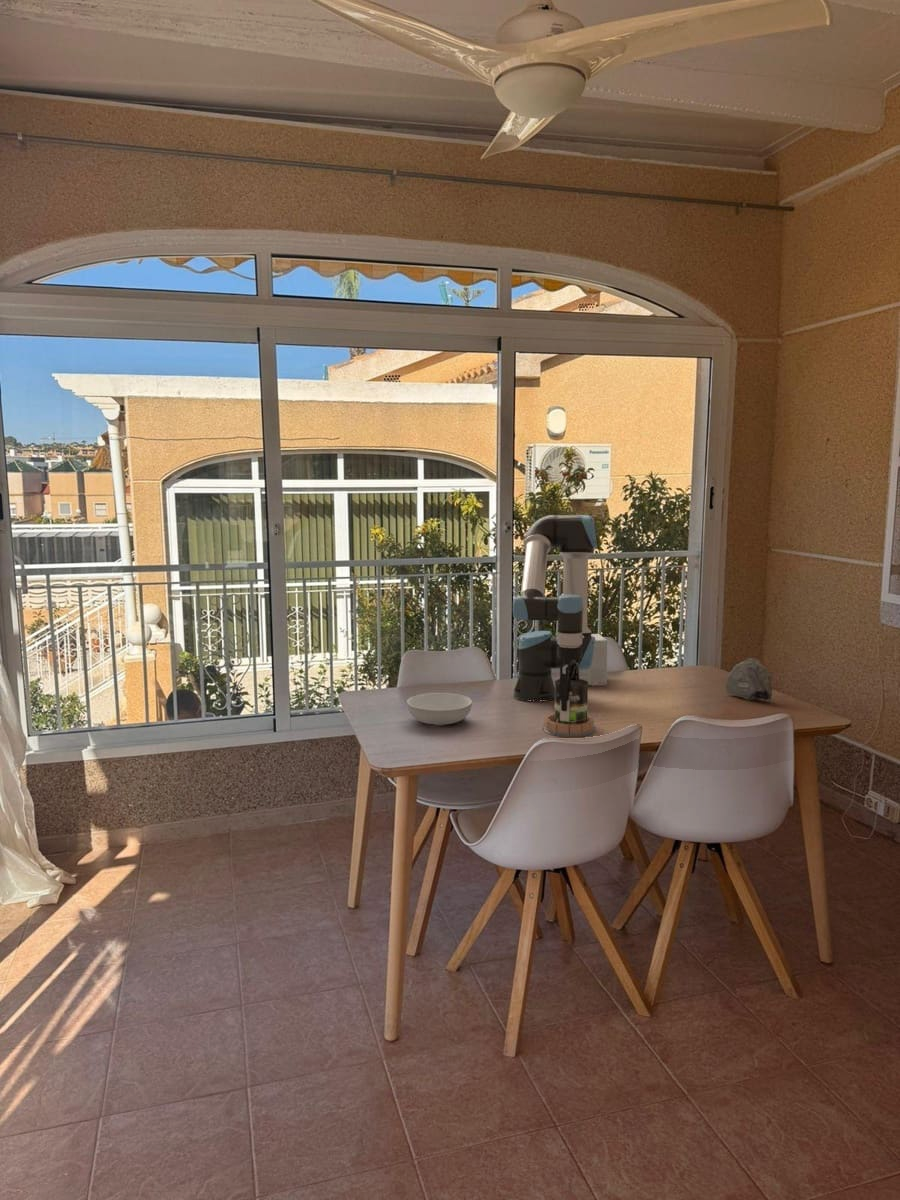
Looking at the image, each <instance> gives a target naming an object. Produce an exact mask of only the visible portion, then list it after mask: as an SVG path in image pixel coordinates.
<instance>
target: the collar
mask: <svg viewBox="0 0 900 1200" xmlns="http://www.w3.org/2000/svg"><path fill="white" fill-rule="evenodd" d="M543 722H544V723H543V724H542V729H543V728H544V729H545V730H546V731H548V732H549V733H551V734H554V735H553V736H555V735H559V736H558V737H562V738H582V737H587V736H591V735H593V734H594V733H595V732H596V725H595V719H594V718H593V717H592V715H590V714H587V722H585V723H582V724H560V723H556V722H555V712H552V713H548V714H546V715H545V716H544V718H543ZM551 734H550V735H551Z"/></svg>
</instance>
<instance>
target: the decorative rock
mask: <svg viewBox="0 0 900 1200" xmlns="http://www.w3.org/2000/svg"><path fill="white" fill-rule="evenodd" d="M772 685H773V681H772V678H771V675H770V674H769V672H768V670H767V668H766V667H765V666H764V665H763V663H762V662H761V661H760V660H758V659H756V658H755V657H748V658H747V659H746V660H742V661H740V662H739V663H737V664H735V665H734V666H733V668H732V669H731V671H730V672H729V673H728V674H727V679H726V681H725V687H724V688H725V692H726V693H728V694H731V695H734V696H736V697H740V698H742V699H744V700H745V699H746V700H747V701H755V700H759V699H760V700H763V701H764V700H765V701H767V700H771V699H772V694H773V693H772V692H773V686H772Z"/></svg>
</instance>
